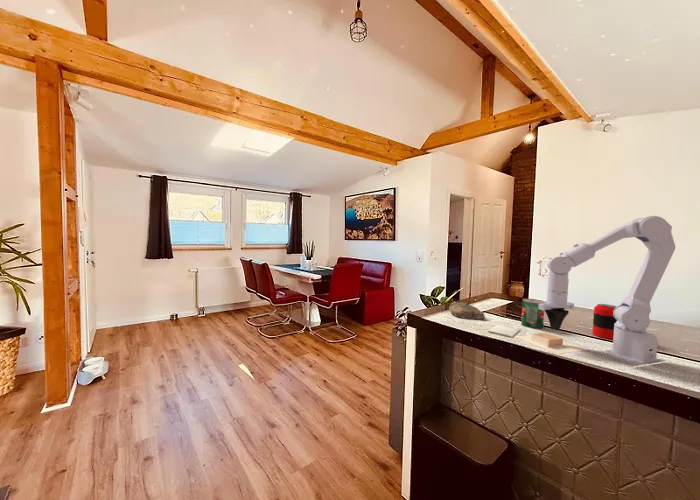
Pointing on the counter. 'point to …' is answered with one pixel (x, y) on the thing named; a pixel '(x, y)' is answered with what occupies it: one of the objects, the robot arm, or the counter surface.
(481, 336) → the counter surface
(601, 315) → the soda can
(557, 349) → the felt mat
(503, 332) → the hard drive
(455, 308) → the brown rock
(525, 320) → the canned tomato
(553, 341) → the terracotta tile
